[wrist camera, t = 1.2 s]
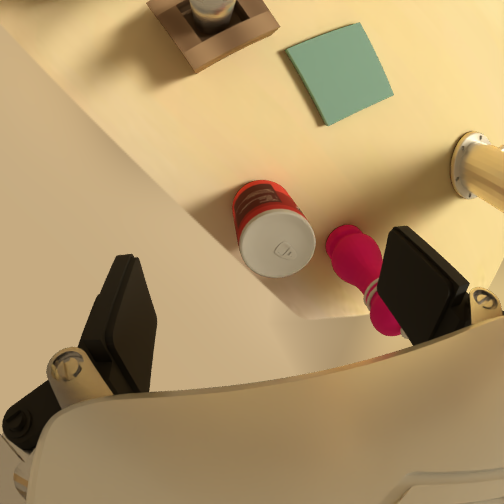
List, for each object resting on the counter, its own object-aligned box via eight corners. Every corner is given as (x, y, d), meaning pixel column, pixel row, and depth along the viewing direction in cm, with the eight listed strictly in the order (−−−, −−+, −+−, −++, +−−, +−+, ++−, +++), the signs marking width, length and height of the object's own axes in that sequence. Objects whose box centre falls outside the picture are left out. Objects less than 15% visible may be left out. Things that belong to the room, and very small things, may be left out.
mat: (356, 23, 26) (359, 22, 25) (389, 94, 32) (393, 95, 31) (284, 50, 28) (286, 49, 27) (325, 125, 34) (328, 126, 33)
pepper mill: (315, 259, 44) (370, 360, 27) (332, 216, 40) (406, 308, 24) (353, 265, 46) (415, 356, 29) (371, 226, 42) (449, 310, 25)
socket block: (228, -24, 22) (231, -40, 18) (270, 35, 27) (280, 26, 23) (154, 14, 23) (146, 3, 19) (196, 73, 28) (193, 70, 24)
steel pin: (219, 0, 23) (224, -42, 13) (236, 24, 25) (250, -9, 15) (188, 15, 24) (177, -21, 13) (205, 40, 26) (202, 12, 15)
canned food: (277, 238, 41) (297, 285, 32) (223, 222, 39) (228, 268, 29) (299, 190, 38) (329, 226, 28) (243, 169, 35) (256, 200, 26)
